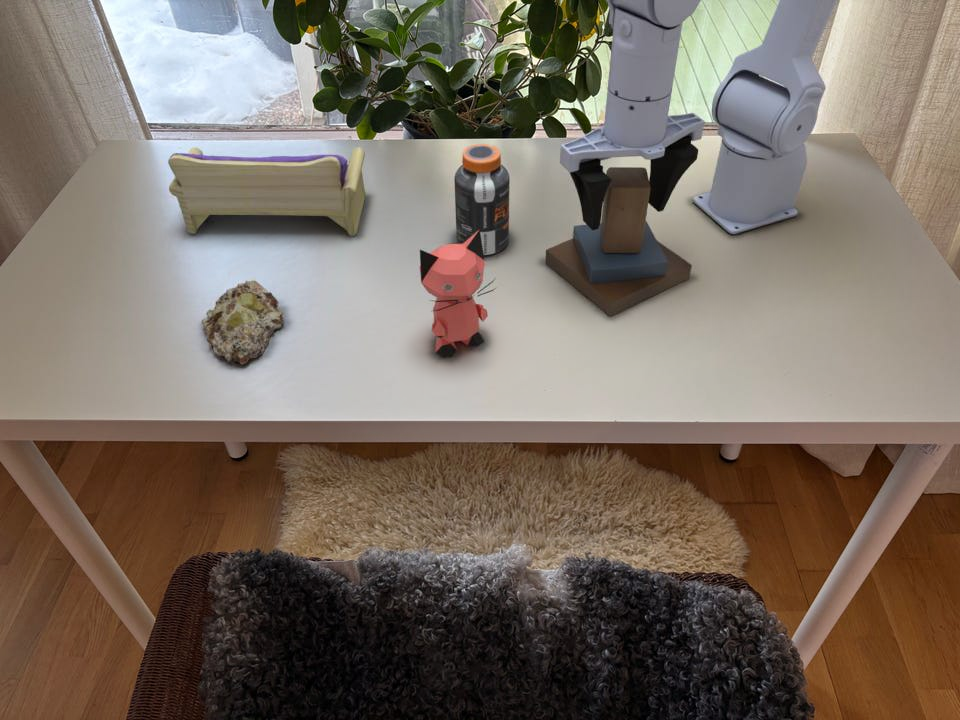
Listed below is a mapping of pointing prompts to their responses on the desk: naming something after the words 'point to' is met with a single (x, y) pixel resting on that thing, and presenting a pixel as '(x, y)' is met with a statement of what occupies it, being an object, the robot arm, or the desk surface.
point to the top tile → (618, 257)
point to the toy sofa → (269, 186)
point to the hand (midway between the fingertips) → (623, 215)
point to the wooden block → (625, 210)
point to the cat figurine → (455, 292)
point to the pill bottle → (482, 198)
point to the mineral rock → (242, 322)
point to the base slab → (618, 292)
